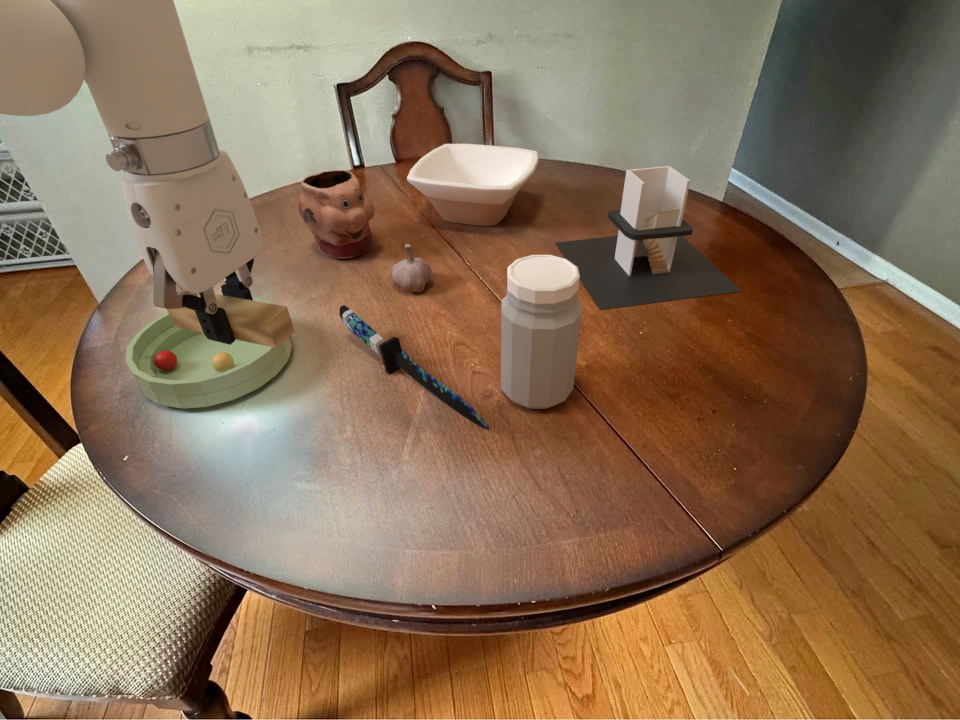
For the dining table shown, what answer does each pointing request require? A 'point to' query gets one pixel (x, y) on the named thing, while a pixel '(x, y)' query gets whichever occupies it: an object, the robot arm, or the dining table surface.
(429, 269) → the garlic bulb
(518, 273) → the jar
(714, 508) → the dining table surface
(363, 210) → the decorative planter
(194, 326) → the stick
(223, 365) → the chickpea
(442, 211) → the bowl
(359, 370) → the dining table surface
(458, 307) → the dining table surface
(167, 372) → the shallow round dish
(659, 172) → the model building
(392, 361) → the knife
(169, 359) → the tomato
